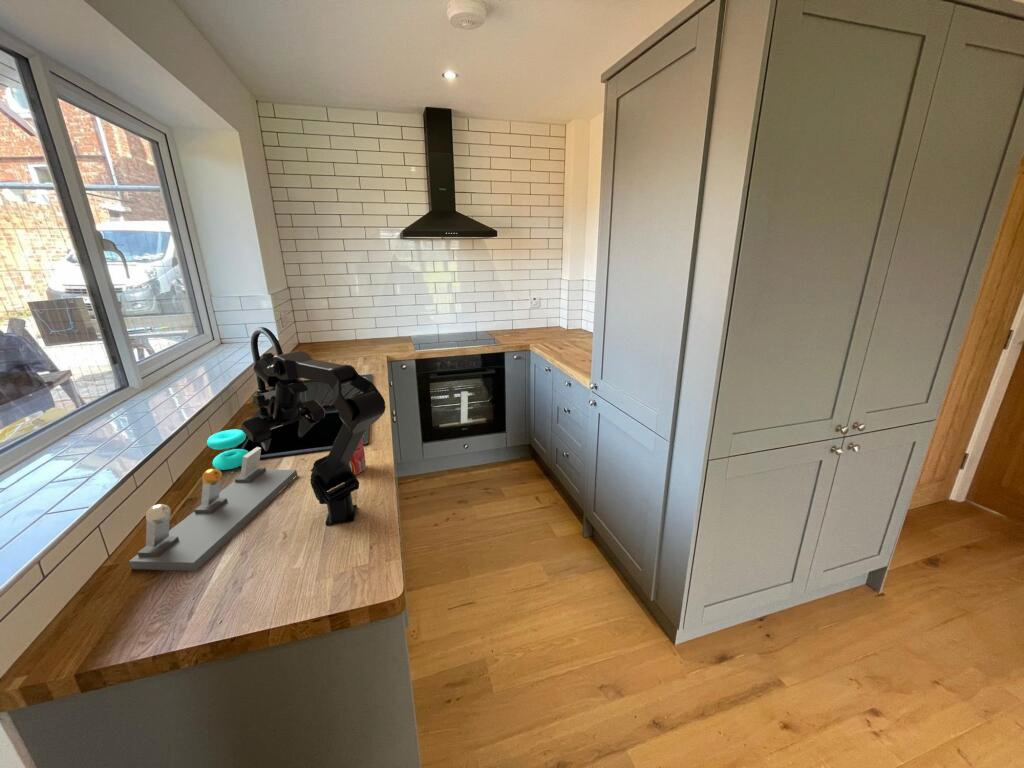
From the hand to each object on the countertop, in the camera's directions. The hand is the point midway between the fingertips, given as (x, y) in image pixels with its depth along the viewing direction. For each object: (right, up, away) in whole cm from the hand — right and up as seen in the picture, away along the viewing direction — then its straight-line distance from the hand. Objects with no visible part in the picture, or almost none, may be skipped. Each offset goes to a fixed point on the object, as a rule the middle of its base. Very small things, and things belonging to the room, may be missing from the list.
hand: (283, 443), depth 108 cm
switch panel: (-11, -17, -5) cm, 21 cm away
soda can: (+13, -11, +15) cm, 22 cm away
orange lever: (-15, -14, -6) cm, 21 cm away
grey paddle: (-14, -9, +8) cm, 19 cm away
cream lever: (-16, -18, -20) cm, 32 cm away
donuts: (-27, -10, +21) cm, 36 cm away
